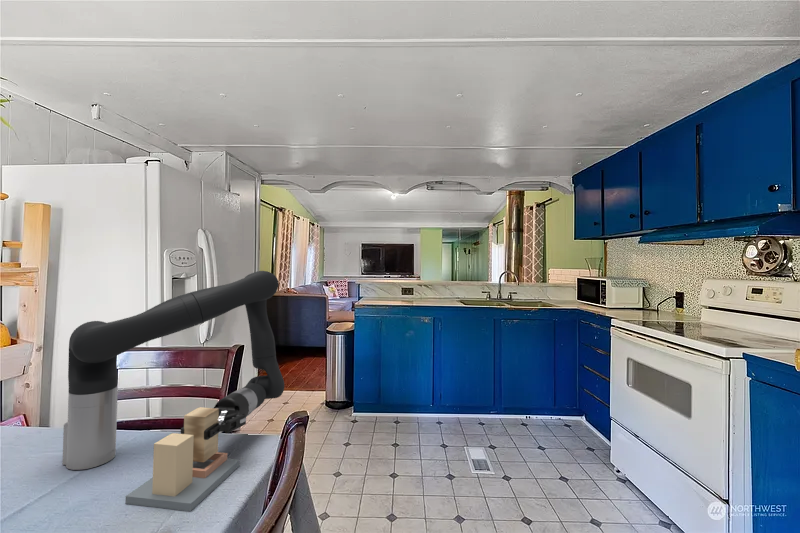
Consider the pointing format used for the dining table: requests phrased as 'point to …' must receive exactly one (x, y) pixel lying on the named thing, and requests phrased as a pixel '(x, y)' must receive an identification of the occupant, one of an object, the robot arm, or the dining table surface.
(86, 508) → the dining table surface
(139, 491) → the base board
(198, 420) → the maple pillar
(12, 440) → the dining table surface
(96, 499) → the dining table surface
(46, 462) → the dining table surface
